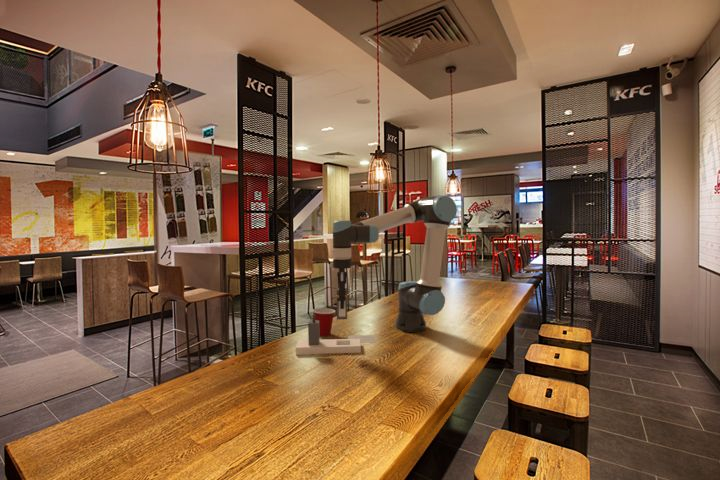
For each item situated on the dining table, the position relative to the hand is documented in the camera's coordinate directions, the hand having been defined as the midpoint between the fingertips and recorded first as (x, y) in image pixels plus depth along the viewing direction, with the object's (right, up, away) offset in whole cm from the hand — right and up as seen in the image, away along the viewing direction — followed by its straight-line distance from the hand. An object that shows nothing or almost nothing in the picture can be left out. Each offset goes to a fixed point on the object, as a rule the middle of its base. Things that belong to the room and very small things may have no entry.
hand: (342, 314), depth 150 cm
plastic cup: (-9, -14, +21) cm, 27 cm away
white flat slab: (+8, -14, +13) cm, 21 cm away
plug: (0, -1, 0) cm, 1 cm away
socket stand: (-6, -15, +1) cm, 16 cm away
